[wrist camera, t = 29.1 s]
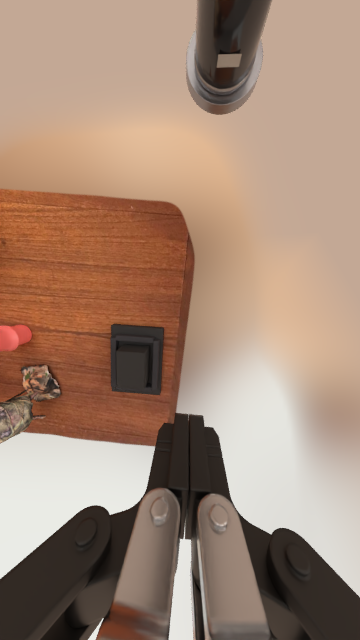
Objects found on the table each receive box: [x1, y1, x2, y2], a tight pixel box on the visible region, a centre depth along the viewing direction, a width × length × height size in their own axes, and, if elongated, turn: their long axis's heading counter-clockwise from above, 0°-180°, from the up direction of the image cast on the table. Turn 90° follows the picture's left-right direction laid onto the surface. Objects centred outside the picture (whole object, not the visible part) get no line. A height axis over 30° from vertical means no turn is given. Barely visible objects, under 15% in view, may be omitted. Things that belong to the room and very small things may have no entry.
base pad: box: [111, 324, 164, 395], centre depth 35 cm, size 14×10×3 cm
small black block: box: [116, 344, 150, 390], centre depth 33 cm, size 7×5×4 cm
